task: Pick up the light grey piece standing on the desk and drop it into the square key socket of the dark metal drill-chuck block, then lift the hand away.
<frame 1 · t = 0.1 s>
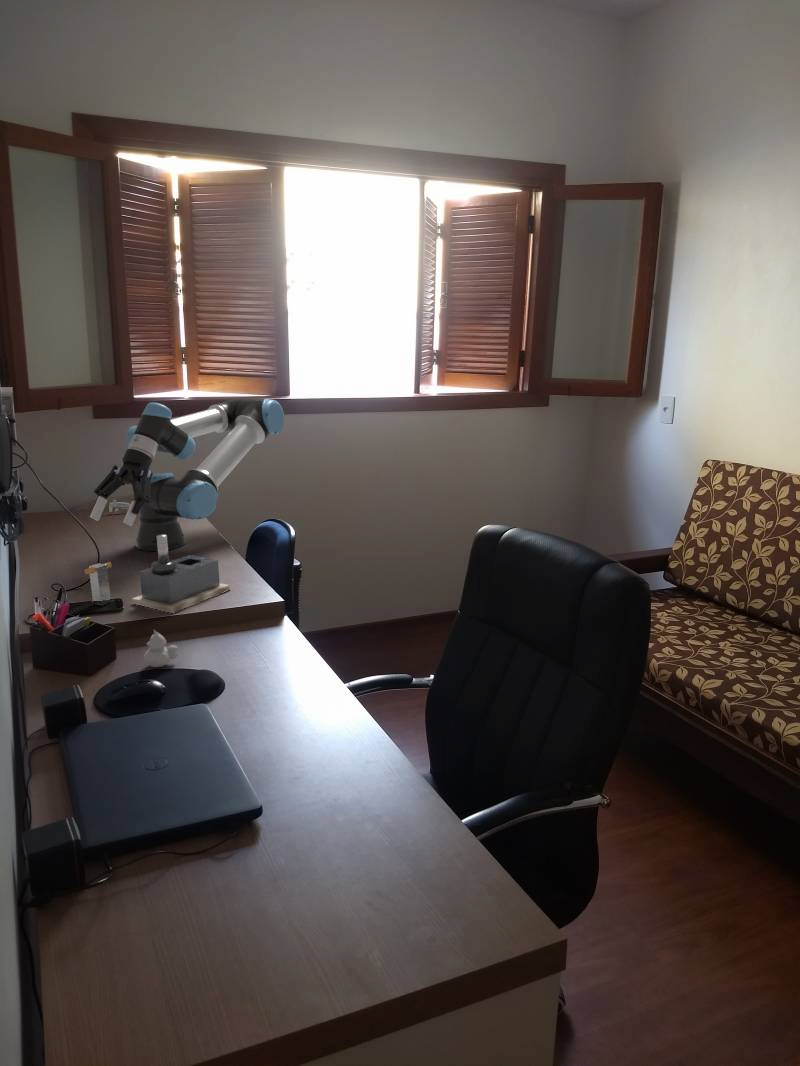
hand: (110, 521, 211), 15 cm above the table, tool tilted 35°, fingers open, 13 cm apart
chuck block: (192, 593, 199), resting on base board
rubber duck: (162, 666, 156), on the table
light grey piece: (102, 603, 192), on the table
caliper: (137, 513, 293), on the table
base board: (182, 597, 196), on the table
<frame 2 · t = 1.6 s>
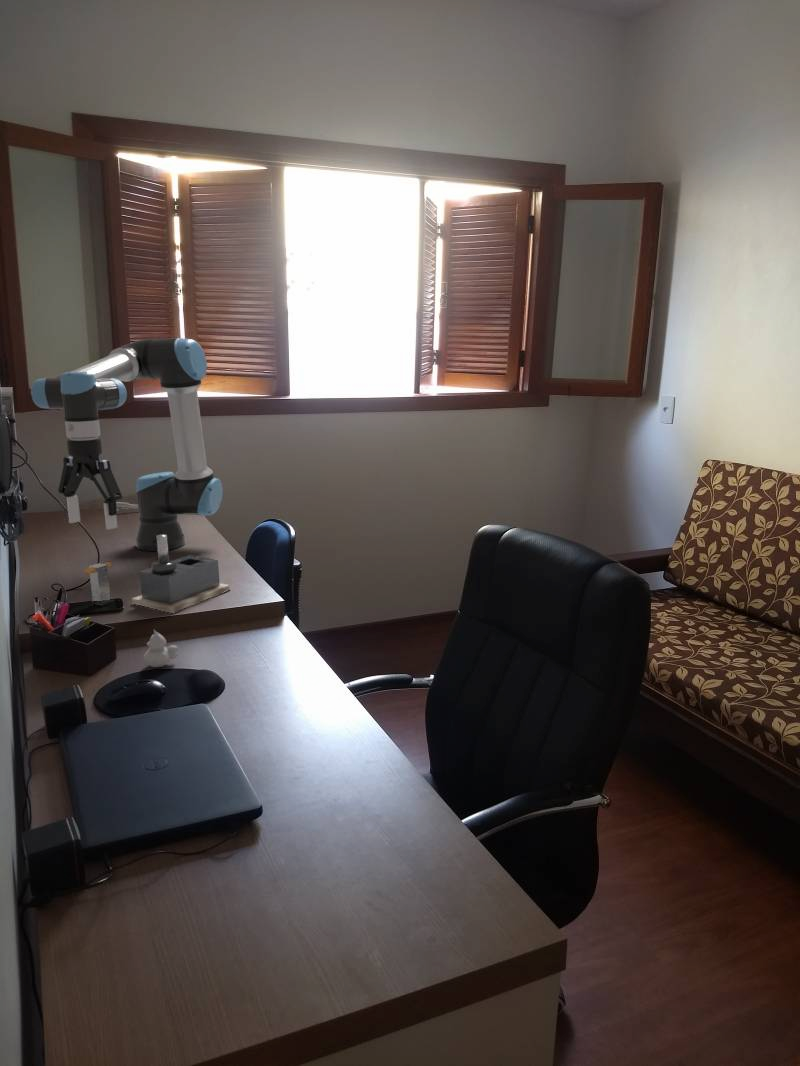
hand: (93, 525, 187), 20 cm above the table, tool pointing down, fingers open, 13 cm apart
nothing on the table moved.
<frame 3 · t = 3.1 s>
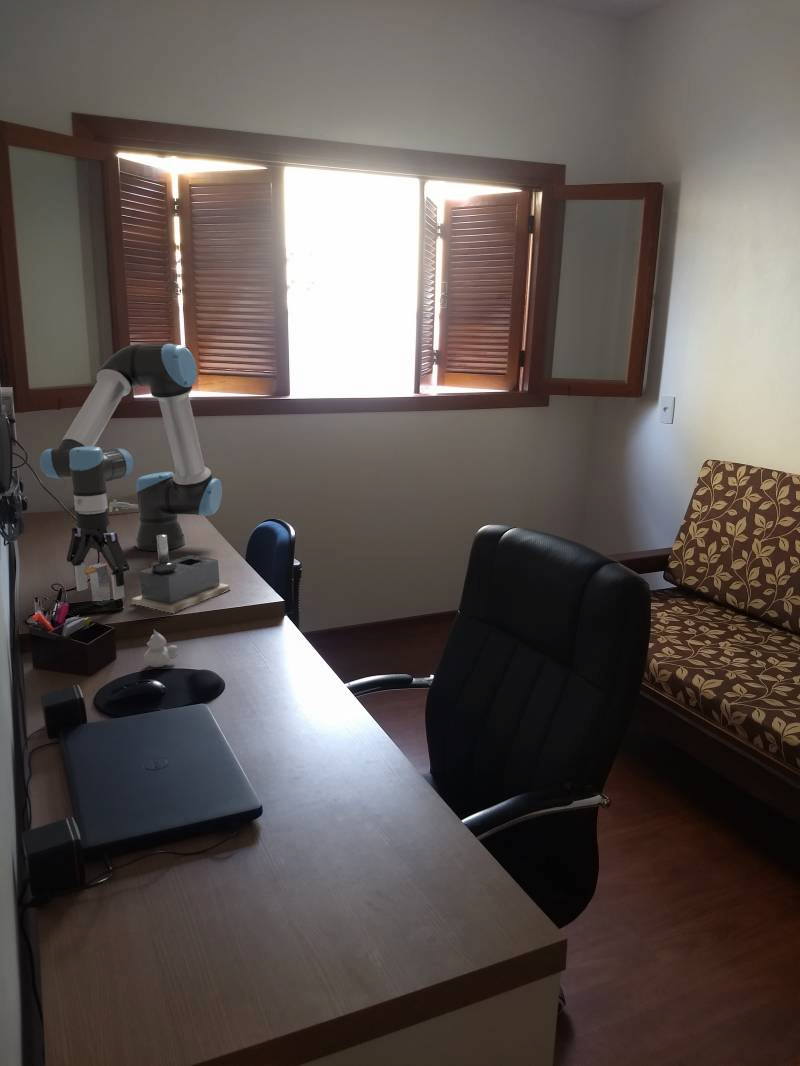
hand: (100, 593, 191), 3 cm above the table, tool pointing down, fingers open, 13 cm apart
nothing on the table moved.
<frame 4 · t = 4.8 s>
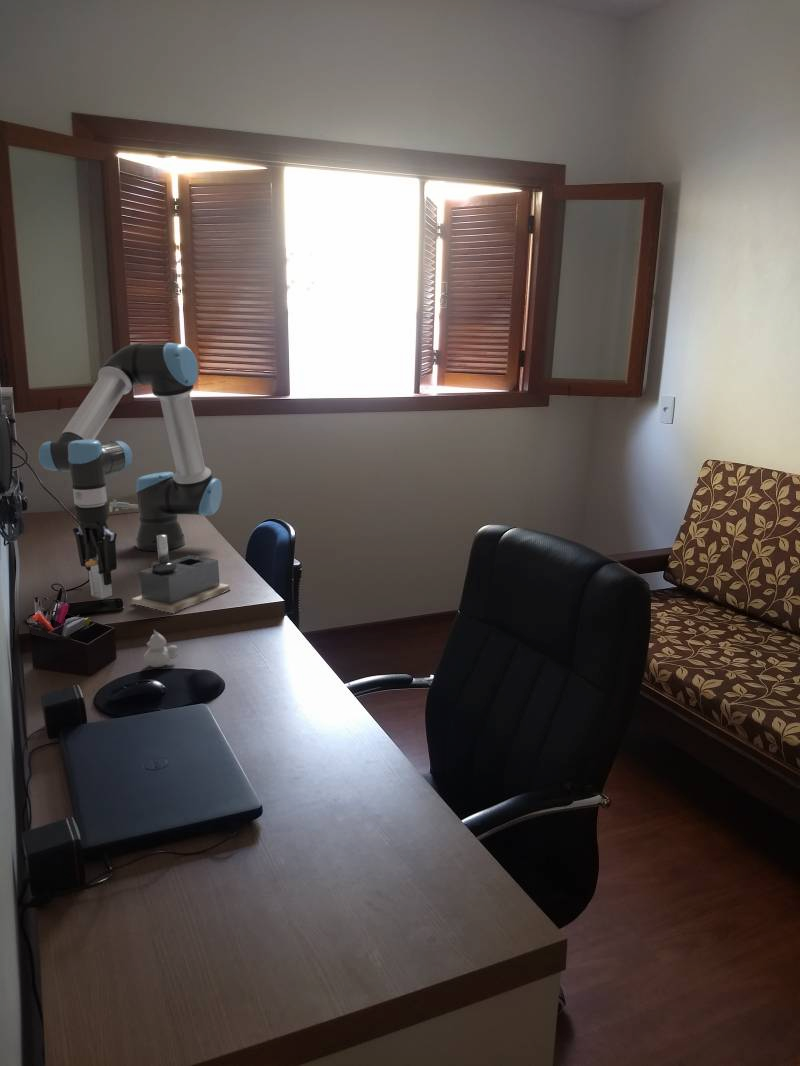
hand: (101, 595, 192), 2 cm above the table, tool pointing down, fingers closed on light grey piece, 3 cm apart
light grey piece: (103, 596, 192), point 2 cm above the table, touching gripper
everything else where it was.
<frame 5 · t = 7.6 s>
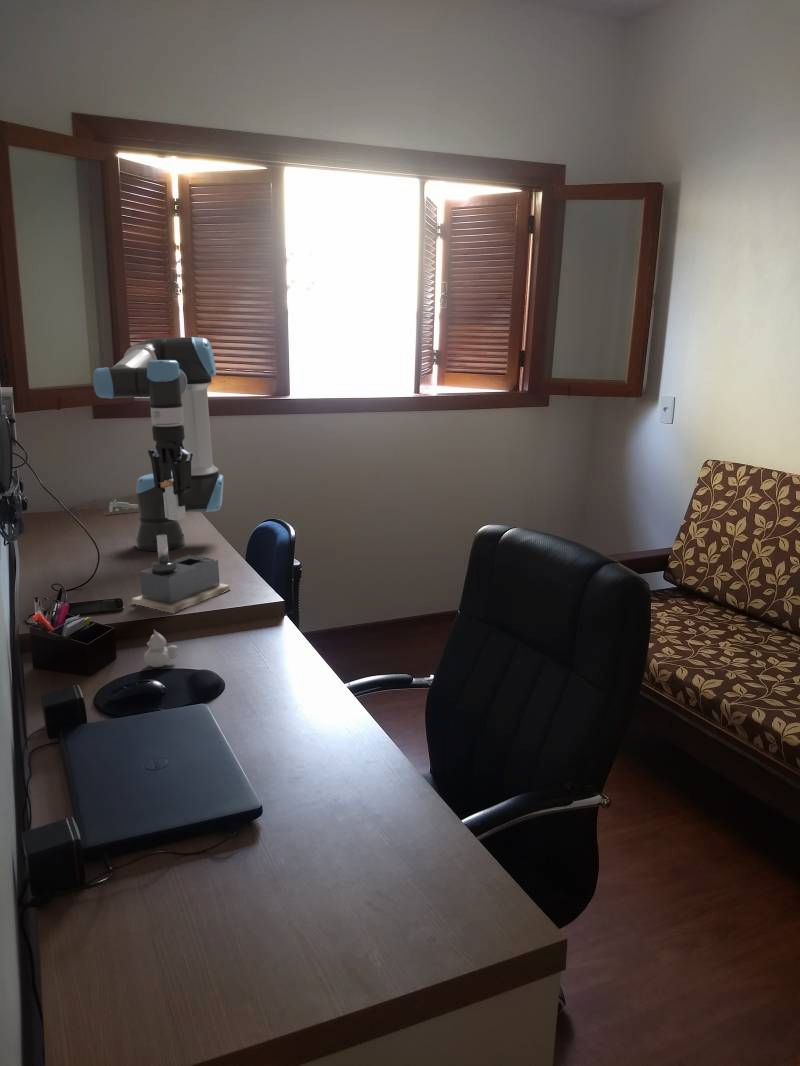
hand: (175, 517, 193), 21 cm above the table, tool pointing down, fingers closed on light grey piece, 3 cm apart
light grey piece: (176, 518, 194), point 20 cm above the table, touching gripper
everything else where it was.
when the fingers open (10 cm above the table, at t = 10.4 s): light grey piece drops 6 cm, resting on chuck block.
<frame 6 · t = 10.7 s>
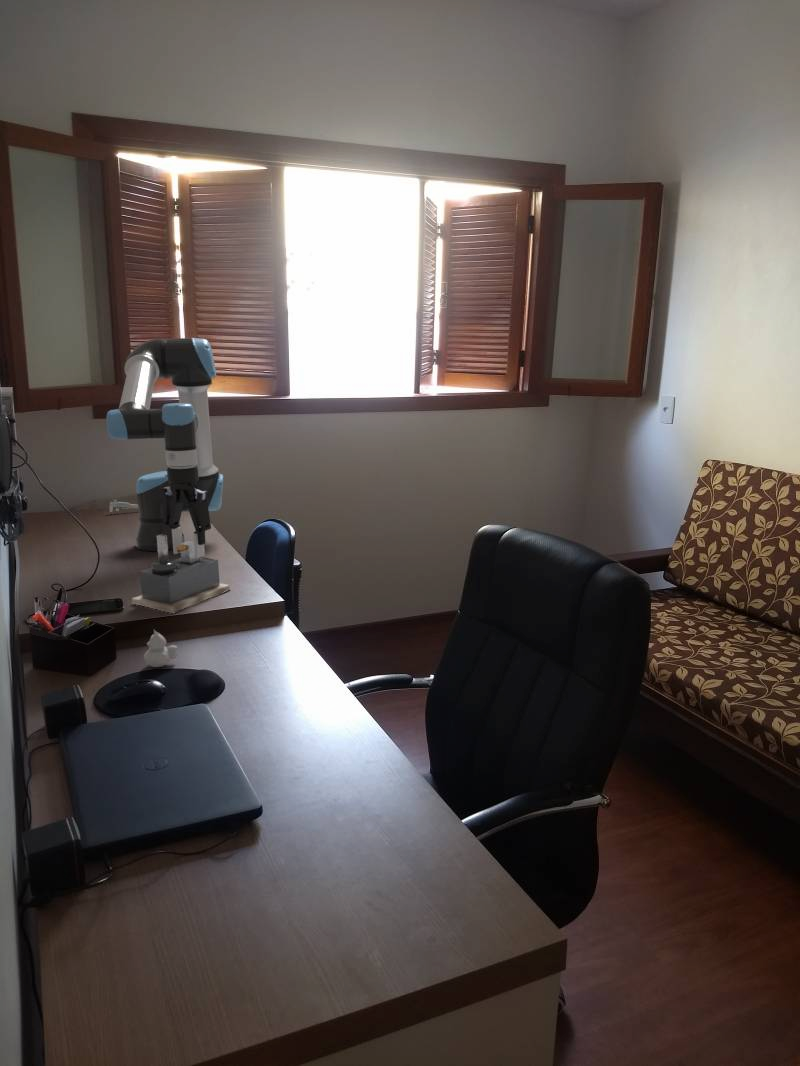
hand: (189, 554, 197), 11 cm above the table, tool pointing down, fingers open, 7 cm apart
light grey piece: (192, 579, 199), point 4 cm above the table, touching chuck block
everything else where it was.
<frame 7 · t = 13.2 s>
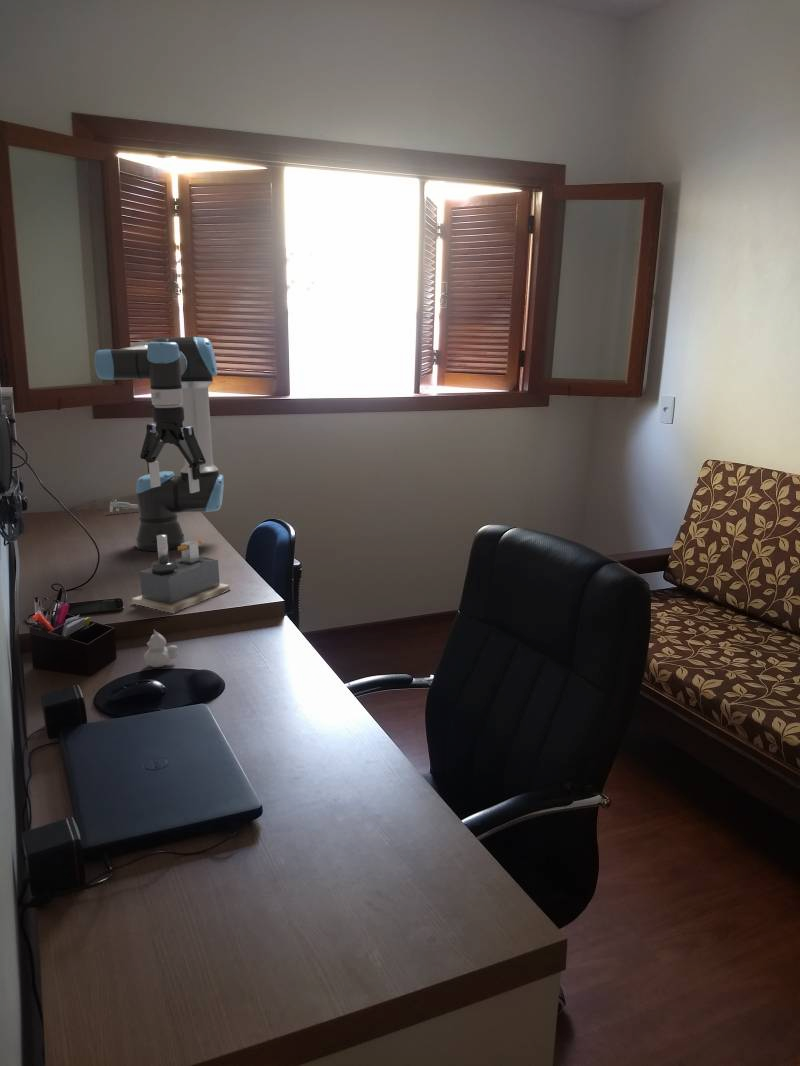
hand: (175, 489, 196), 27 cm above the table, tool pointing down, fingers open, 13 cm apart
nothing on the table moved.
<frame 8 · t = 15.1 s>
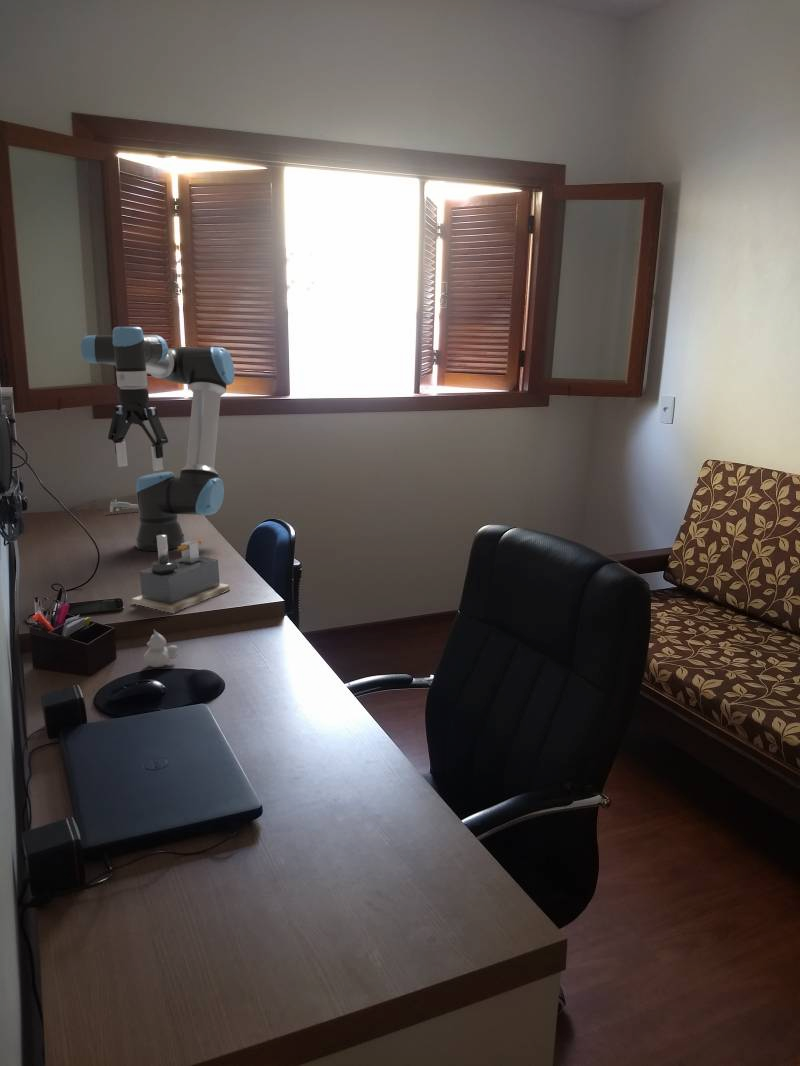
hand: (140, 468, 205), 31 cm above the table, tool pointing down, fingers open, 13 cm apart
nothing on the table moved.
at the end: light grey piece 0.4 cm off-centre on the chuck block, point 3.5 cm above the chuck block's base; light grey piece tilted 0°; the gripper is holding nothing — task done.
